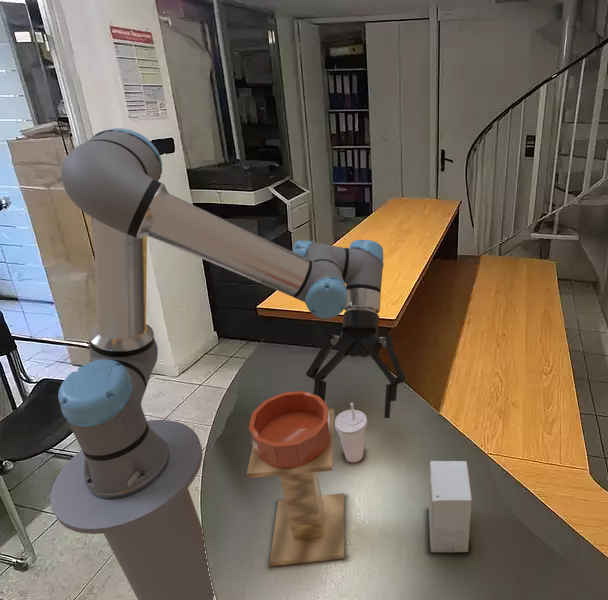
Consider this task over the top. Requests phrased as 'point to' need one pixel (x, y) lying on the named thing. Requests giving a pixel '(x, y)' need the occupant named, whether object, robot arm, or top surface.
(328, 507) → the pedestal
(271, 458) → the bowl
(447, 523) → the small box
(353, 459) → the smoothie
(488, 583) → the top surface
